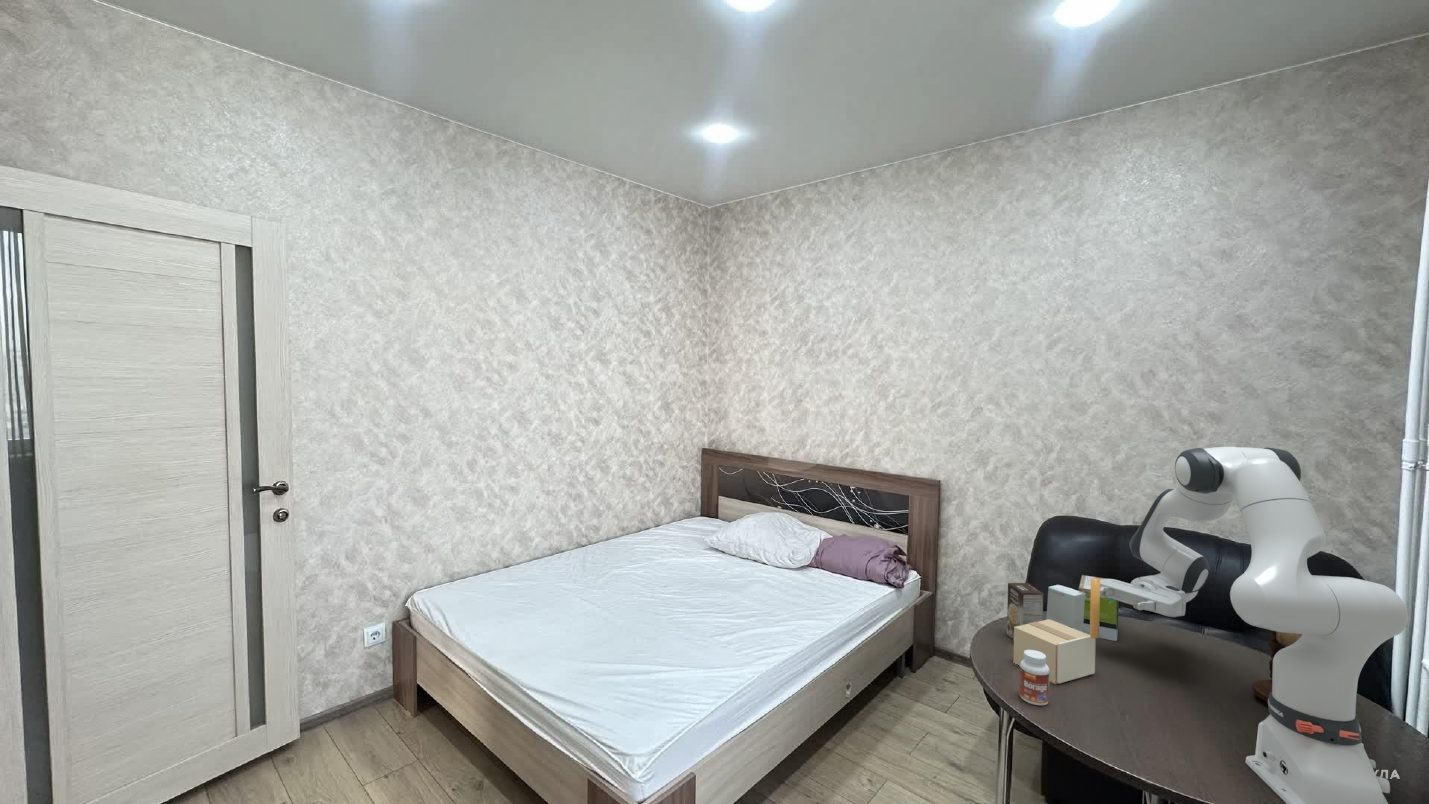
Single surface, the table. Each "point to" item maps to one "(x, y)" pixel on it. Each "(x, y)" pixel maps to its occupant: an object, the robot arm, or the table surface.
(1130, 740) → the table surface
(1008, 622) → the coffee box
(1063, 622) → the skincare box
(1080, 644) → the cleaver with orange handle
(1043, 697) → the pill bottle
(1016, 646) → the carton
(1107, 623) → the tea box
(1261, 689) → the scroll
